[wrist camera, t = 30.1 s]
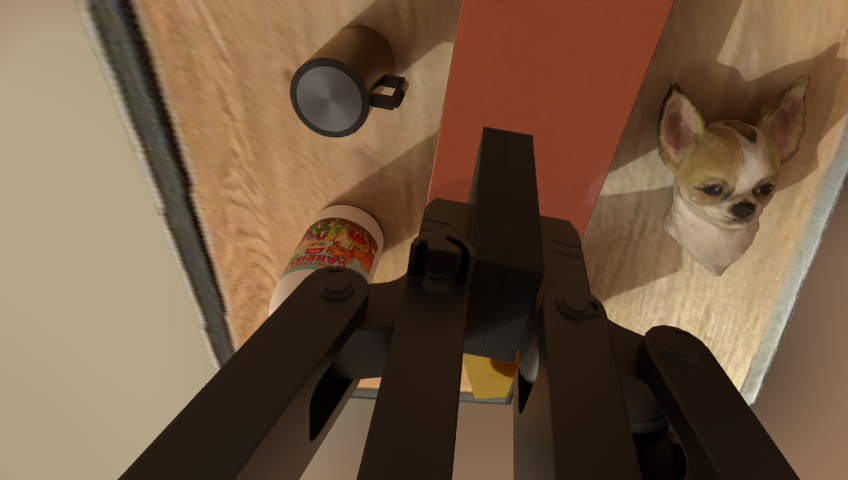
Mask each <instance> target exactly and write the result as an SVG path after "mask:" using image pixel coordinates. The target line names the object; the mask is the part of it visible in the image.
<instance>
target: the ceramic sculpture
mask: <svg viewBox="0 0 848 480" xmlns="http://www.w3.org/2000/svg"><path fill="white" fill-rule="evenodd" d="M809 81H810V75H804V76H802V77H800V78H799V79H797V80H796V81H795V82H793V83H792V84H791V85H789V86H788V87H786V88H784V89H783V90H781V91H780V92H778V93H777V94H775V95H774V96H772V97H771V98H770V99H768V100H767V101H765V102H764V103H763V104H762V105H761V107H760V108H759V110H758V114H757V119H756V126H752V125H749V124H746V123H744V122H740V121H736V120H724V121H719V122H714V123H711V124H709V125H707V126H705V118H704V115H703V112H702V109H701V107H700V105H699V104H698V103H697V102H696V101H694V100H693V99H692V98H691V97H690V96H688V95H687V94H686V93H685V92H684V91H683V90H682V89H681V87H680V86H679V84H678V83H677V82H676V81H673V82H672V83H671V85H670V88H669V90H668V92H667V94H666V97H665V98H664V100H663V103H662V106H661V109H660V114H659V119H658V124H657V140H658V148H659V155H660V157H661V159H662V160H663V162H664V164H665V165H666V166H667V167H668V168H669V169H670V170H671V171H672V172H673V173H674V174H675V181H674V185H673V190H674V196H673V204H672V205H671V206H670V207H669V209H668V210H667V211H666V213H665V215H664V217H663V227H664V229H665V231H666V232H667V233H668V234H670V235H671V236H672V237H673V238H674V239H675V240H676V241H677V242H678V243H679V244H680V245H681V246H682V247H683V248H684V249H685V250H686V251H687V252H689V253H690V254H691V255H692V256H693V257H694V258H695V260H696V261H697V262H698V263H700V264H701V265H702V266H704V267H705V268H706V269H707V270H708V271H709V272H710V273H712V274H713V275H715V276H721V275H722V274H723V272H724V271H725V270H726V269H727V268H728V267H729V266H730V265H731V264H733V263H734V262H735V261H736V260H738V259H739V258H740V257H741V256H742V255H743V254H744V253H745V251H746V250H747V249H748V248H749V247H750V245H751V244H752V242H753V240H754V238H755V235H756V232H757V231H758V230H759V221H758V220H759V216H760V215H761V214H762V212H763V208H764V207H765V206H766V205H767V204H768V203H769V201H770V200H771V198H772V197H773V195H774V193H775V187H776V182H777V177H778V173H779V171H780V168H781V166H782V165H783V164H784V163H786V162H787V161H789V160H790V159H791V157H792V156H793V155H794V154H795V153H796V152H797V151H798V148H799V142H800V139H801V138H802V137H803V135H804V132H805V124H806V123H805V120H804V117H805V116H806V114H805V111H806V104H805V99H806V97H805V95H806V90H807V88H808V85H809Z"/></svg>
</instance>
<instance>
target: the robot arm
mask: <svg viewBox="0 0 848 480" xmlns="http://www.w3.org/2000/svg"><path fill="white" fill-rule="evenodd" d="M518 348H519V365H518V367H517V370H516V373H515V376H514V378H513V381H512V384H511V387H510V390H509V392H508V395H507V399H506V403H508V404H510V403H511V401H512V398H513V427H514V428H513V429H514V430H513V431H514V432H513V434H514V435H513V442H514V480H800V479H799V478H798V476H797V475H796V473H795V472H794V470H793V469H792V467H791V466H790V465H789V463H788V462H787V460H786V459H785V457H784V456H783V455H782V453H781V452H780V450H779V449H778V447H777V446H776V445H775V443H774V442H773V440H772V439H771V437H770V436H769V434H768V433H767V432H766V430H765V429H764V427H763V426H762V424H761V423H760V422H759V420H758V419H757V417H756V416H755V414H754V413H753V411H752V410H751V409H750V407H749V406H748V404H747V403H746V401H745V400H744V399H743V397H742V396H741V394H740V393H739V391H738V390H737V389H736V387H735V386H734V384H733V383H732V381H731V380H730V378H729V377H728V376H727V374H726V373H725V371H724V370H723V368H722V367H721V366H720V364H719V363H718V361H717V360H716V358H715V357H714V355H713V354H712V353H711V351H710V350H709V349H708V348H707V347H706V346H705V345H704V343H703V342H702V341H701V340H699V339H698V338H696V337H695V336H693V335H692V334H690V333H689V332H686V331H684V330H682V329H679V328H677V327H672V326H666V325H661V326H655V327H652V328H651V329H650V330H648V331H647V332H646V334H645V336H642V335H640V334H638V333H635V332H633V331H631V330H628V329H626V328H623V327H621V326H619V325H617V324H615V323H614V322H612V321H611V320H609V319H608V318H607V314H606V311H605V309H604V307H603V305H602V303H601V302H600V301H599V300H598V299H597V298H596V297H595V296H593V295H592V294H591V293H590V288H589V283H588V277H587V272H586V267H585V262H584V259H583V251H582V248H581V241H580V236H579V233H578V231H577V230H576V229H575V227H574V226H573V225H572V224H571V222H570V221H569V220H564V219H558V218H553V217H547V216H542V215H540V212H539V200H538V189H537V178H536V167H535V156H534V144H533V135H529V134H524V133H518V132H512V131H507V130H501V129H495V128H490V127H484V126H483V131H482V136H481V140H480V145H479V150H478V155H477V159H476V164H475V169H474V173H473V178H472V183H471V188H470V192H469V197H468V202H467V203H462V202H457V201H451V200H446V199H440V198H435V199H434V200H433V201H432V202H430V203H429V204H428V205H427V206H426V207H425V211H424V215H423V220H422V224H421V228H420V232H419V236H418V237H416V238H415V239H414V241H413V242H412V244H411V249H410V256H409V263H408V270H407V273H406V274H405V275H404V276H402V277H400V278H399V279H397V280H394V281H390V282H385V283H374V284H368V281H367V280H366V279H365V278H364V276H363V275H362V274H361V273H359V272H357V271H355V270H353V269H351V268H347V267H342V266H327V267H324V268H321V269H317V270H315V271H314V272H312V273H311V274H309V275H308V276H307V277H306V278H305V279H304V280H303V281H302V282H301V283H300V284H299V285H298V286H297V287H296V288H295V290H294V291H293V292H292V293H291V294H290V295H289V296H288V297H287V298H286V299H285V300H284V301H283V302H282V304H281V305H280V306H279V307H278V308H277V309H276V310H275V311H274V312H273V313H272V314H271V315H270V316H269V317H268V319H267V320H266V321H265V322H264V323H263V324H262V325H261V326H260V327H259V328H258V329H257V330H256V331H255V333H254V334H253V335H252V336H251V337H250V338H249V339H248V340H247V341H246V342H245V343H244V344H243V345H242V347H241V348H240V349H239V350H238V351H237V352H236V353H235V354H234V355H233V356H232V357H231V358H230V359H229V360H228V362H227V363H226V364H225V365H224V366H223V367H222V368H221V369H220V370H219V371H218V372H217V374H215V376H214V377H213V378H212V379H211V380H210V381H209V382H208V383H207V384H206V385H205V386H204V388H202V390H201V391H200V392H199V393H198V394H197V395H196V396H195V397H194V398H193V399H192V400H191V401H190V402H189V404H188V405H187V406H186V407H185V408H184V409H183V410H182V411H181V412H180V413H179V414H178V415H177V416H176V417H175V419H174V420H173V421H172V422H171V423H170V424H169V425H168V426H167V427H166V428H165V429H164V430H163V431H162V433H161V434H160V435H159V436H158V437H157V438H156V439H155V440H154V441H153V442H152V443H151V445H149V446H148V448H147V449H146V450H145V451H144V452H143V453H142V454H141V455H140V456H139V457H138V458H137V459H136V461H135V462H134V463H133V464H132V465H131V466H130V467H129V468H128V469H127V470H126V472H124V473H123V474H122V476H121V477H120V478H119V479H118V480H299V479H300V477H301V476H302V474H303V472H304V471H305V469H306V468H307V466H308V465H309V463H310V461H311V460H312V458H313V457H314V455H315V453H316V452H317V450H318V449H319V447H320V445H321V444H322V442H323V440H324V439H325V437H326V436H327V434H328V432H329V431H330V429H331V428H332V426H333V424H334V422H335V421H336V420H337V418H338V416H339V415H340V413H341V411H342V410H343V408H344V406H345V405H346V403H347V402H348V400H349V399H350V397H351V395H352V394H353V392H354V391H355V389H356V387H357V386H358V384H359V381H360V379H366V378H377V377H382V378H381V383H380V387H379V391H378V395H377V399H376V403H375V407H374V411H373V415H372V419H371V423H370V428H369V431H368V436H367V440H366V444H365V448H364V452H363V456H362V460H361V464H360V468H359V472H358V476H357V480H452V473H453V462H454V451H455V440H456V428H457V417H458V406H459V395H460V384H461V373H462V362H463V353H465V354H470V355H475V356H480V357H486V358H491V359H496V360H501V361H507V362H512V363H513V362H514V359H515V357H516V354H517V351H518Z"/></svg>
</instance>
